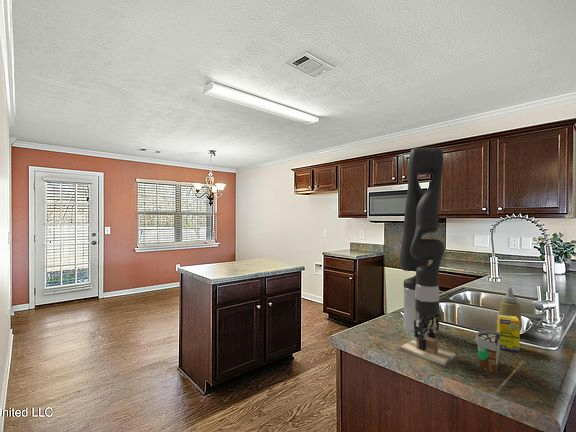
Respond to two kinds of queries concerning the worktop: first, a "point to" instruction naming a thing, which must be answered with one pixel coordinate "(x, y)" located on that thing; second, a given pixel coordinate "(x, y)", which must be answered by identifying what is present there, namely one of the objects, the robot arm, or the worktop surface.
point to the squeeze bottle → (510, 306)
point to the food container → (488, 350)
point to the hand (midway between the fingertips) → (427, 346)
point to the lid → (429, 351)
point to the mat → (432, 361)
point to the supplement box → (508, 332)
